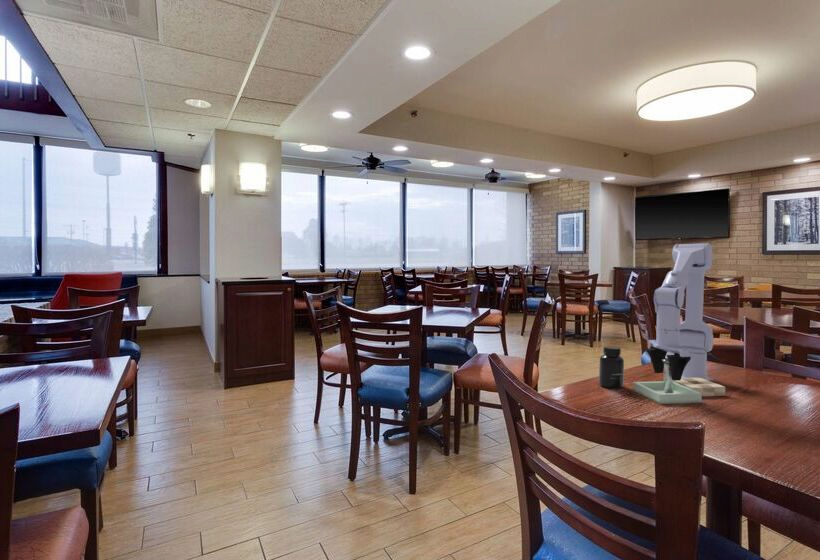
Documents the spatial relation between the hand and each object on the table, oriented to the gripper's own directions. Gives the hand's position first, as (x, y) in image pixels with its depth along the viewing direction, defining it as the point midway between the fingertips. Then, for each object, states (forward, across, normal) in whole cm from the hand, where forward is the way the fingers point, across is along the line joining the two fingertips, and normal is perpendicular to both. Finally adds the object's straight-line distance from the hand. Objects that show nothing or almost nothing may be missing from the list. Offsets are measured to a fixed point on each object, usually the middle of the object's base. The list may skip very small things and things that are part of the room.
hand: (667, 376), depth 123 cm
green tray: (+5, +1, -1) cm, 6 cm away
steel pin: (+5, 0, +1) cm, 5 cm away
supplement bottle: (+6, -10, -11) cm, 16 cm away
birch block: (+5, -3, +11) cm, 13 cm away
